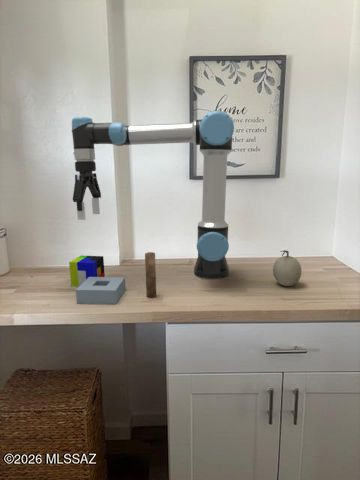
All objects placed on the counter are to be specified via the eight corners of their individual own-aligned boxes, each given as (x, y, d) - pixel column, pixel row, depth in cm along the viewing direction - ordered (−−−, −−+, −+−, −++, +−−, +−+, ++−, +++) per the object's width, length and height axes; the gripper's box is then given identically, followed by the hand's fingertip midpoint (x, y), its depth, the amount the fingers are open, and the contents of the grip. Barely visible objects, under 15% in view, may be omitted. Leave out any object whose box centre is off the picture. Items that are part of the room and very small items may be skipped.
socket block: (125, 289, 135) (125, 277, 133) (116, 304, 121) (115, 290, 120) (90, 289, 136) (89, 276, 135) (76, 303, 122) (75, 289, 121)
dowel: (157, 294, 129) (155, 252, 126) (155, 297, 126) (154, 254, 122) (147, 294, 130) (145, 252, 126) (145, 297, 126) (144, 254, 123)
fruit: (294, 279, 143) (296, 243, 140) (304, 289, 132) (307, 250, 129) (268, 280, 143) (270, 244, 139) (277, 290, 132) (279, 251, 128)
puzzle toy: (94, 287, 138) (92, 263, 135) (71, 286, 140) (69, 262, 137) (104, 279, 147) (103, 256, 145) (82, 278, 149) (81, 255, 147)
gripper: (89, 160, 145) (93, 212, 149) (59, 161, 121) (64, 222, 125) (106, 160, 143) (110, 212, 148) (79, 160, 119) (84, 222, 124)
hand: (89, 216), depth 137 cm, fingers open, 13 cm apart
